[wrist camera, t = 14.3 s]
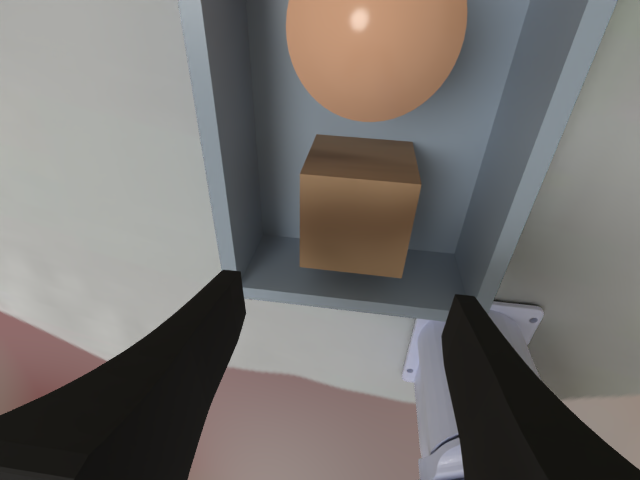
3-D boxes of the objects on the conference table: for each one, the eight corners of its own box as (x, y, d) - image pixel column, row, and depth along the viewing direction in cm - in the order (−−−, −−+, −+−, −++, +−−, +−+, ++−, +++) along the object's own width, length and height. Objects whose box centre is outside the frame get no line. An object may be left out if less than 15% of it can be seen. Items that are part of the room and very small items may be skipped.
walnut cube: (397, 223, 22) (401, 278, 18) (314, 215, 22) (299, 267, 18) (412, 141, 19) (421, 184, 15) (316, 134, 19) (299, 173, 15)
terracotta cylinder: (421, 81, 17) (441, 129, 12) (316, 72, 18) (285, 114, 12) (447, -54, 14) (493, -80, 9) (321, -61, 15) (286, -91, 9)
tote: (462, 259, 23) (482, 326, 19) (254, 238, 25) (225, 296, 20) (585, -125, 13) (693, -183, 9) (221, -128, 14) (148, -180, 10)
